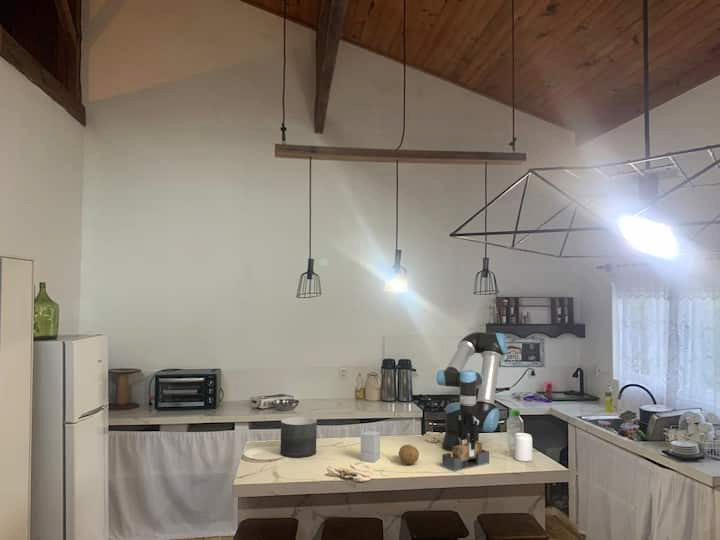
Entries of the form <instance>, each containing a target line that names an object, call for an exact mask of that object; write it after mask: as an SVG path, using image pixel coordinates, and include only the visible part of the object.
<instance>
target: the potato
mask: <svg viewBox="0 0 720 540" xmlns="http://www.w3.org/2000/svg"><path fill="white" fill-rule="evenodd" d="M419 453H420V452H419V450H418V449H417V447H415V446H413V445H411V444H404V445H402V446H401V447H400V449H399V451H398V458H399V460H400V461H401V462H402V463H405V464H406V465H413V464H415V463H416V462H418V459H419V457H420V455H419Z"/></svg>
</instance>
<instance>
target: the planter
mask: <svg viewBox="0 0 720 540" xmlns="http://www.w3.org/2000/svg"><path fill="white" fill-rule="evenodd" d="M317 429H318V421H317V419H316V418H313V417H308V416H292V417H287V418H283V419H281V420H280V455H281V456H284V457H286V458H293V459H294V458H296V459H299V458H300V459H301V458H308V457H312V456H314V455H315V454H317V436H318V435H317V433H318V430H317Z"/></svg>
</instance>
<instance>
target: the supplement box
mask: <svg viewBox="0 0 720 540" xmlns="http://www.w3.org/2000/svg"><path fill="white" fill-rule="evenodd" d="M380 459H381V432H380V431H373V430H372V431H371V430H365V431H363V432H362V433H360V461H362V462H370V463H376V462H377V461H379V460H380Z"/></svg>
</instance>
